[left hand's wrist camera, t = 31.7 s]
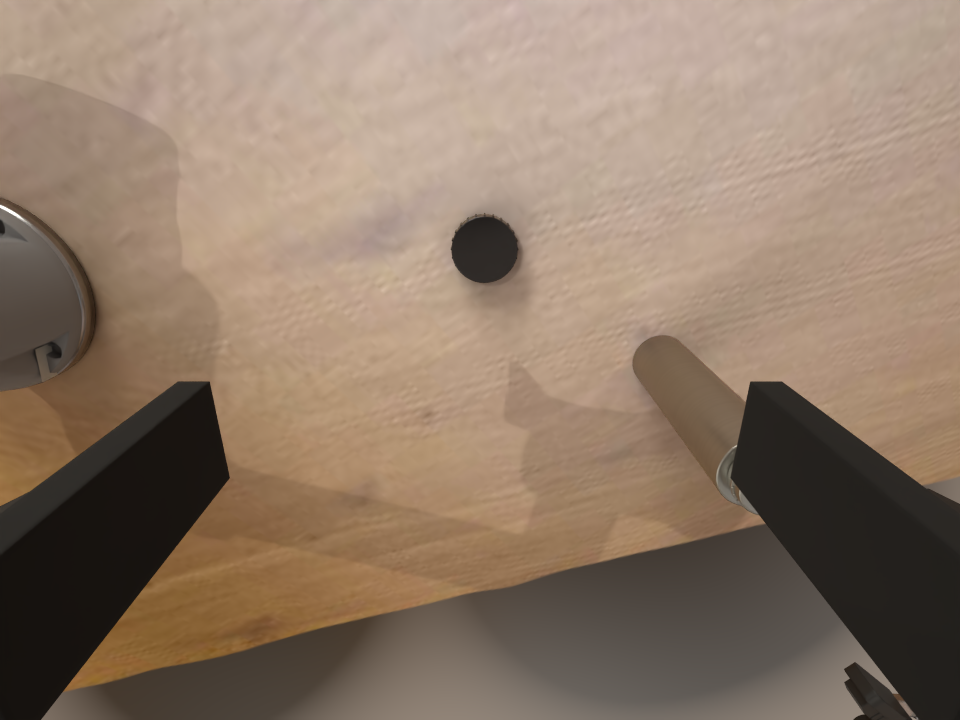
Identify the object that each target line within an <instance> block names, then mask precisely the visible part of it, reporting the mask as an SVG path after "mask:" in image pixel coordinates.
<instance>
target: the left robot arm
mask: <svg viewBox="0 0 960 720" xmlns="http://www.w3.org/2000/svg"><path fill="white" fill-rule="evenodd" d="M94 327H95V305H94V299H93V295H92V291H91V288H90V285H89V282H88V280H87V277H86V275H85V273H84V271H83V269H82V267H81V265H80V264H79V262H78V260H77V259H76V257H75V256H74V254H73V253H72V251H71V250H70V249H69V248H68V246H67V245H66V244H65V243H64V241H63V240H62V239H61V238H60V237H59V236H58V235H57V234H56V233H55V232H54V231H53V230H52V229H51V228H50V227H49V226H47V225H46V224H45V223H44V222H42V221H41V220H40V219H39V218H37V217H36V216H34V215H33V214H31V213H30V212H28V211H27V210H25V209H23V208H22V207H20V206H18V205H16V204H14V203H12V202H10V201H8V200H5V199H3V198H0V391H6V390H14V389H20V388H25V387H29V386H32V385H35V384H39V383H43V382H45V381H47V380H49V379H51V378H53V377H55V376H57V375H59V374H61V373H62V372H64V371H66V370H68V369H69V368H71V367H72V366H73V365H74V364H76V363H77V362H78V361H79V360H80V358H81V357H82V356H83V355H84V353H85V352H86V350H87V348H88V347H89V344H90V342H91V339H92V336H93V333H94ZM229 478H230V477H229V472H228V467H227V462H226V458H225V453H224V448H223V443H222V438H221V434H220V429H219V424H218V419H217V415H216V410H215V405H214V400H213V395H212V391H211V386H210V382H177V383H176V384H174V385H173V386H171V387H170V388H169V389H167V390H166V391H165V392H163V393H162V394H161V395H159V396H158V397H157V398H155V399H154V400H153V401H151V402H150V403H149V404H147V405H146V406H145V407H143V408H142V409H140V410H139V411H138V412H136V413H135V414H134V415H132V416H131V417H130V418H128V419H127V420H126V421H124V422H123V423H122V424H120V425H119V426H118V427H116V428H115V429H114V430H112V431H111V432H110V433H108V434H107V435H105V436H104V437H103V438H101V439H100V440H99V441H97V442H96V443H95V444H93V445H92V446H91V447H89V448H88V449H87V450H85V451H84V452H83V453H81V454H80V455H79V456H77V457H76V458H75V459H73V460H72V461H70V462H69V463H68V464H66V465H65V466H64V467H62V468H61V469H60V470H58V471H57V472H56V473H54V474H53V475H52V476H50V477H49V478H48V479H46V480H45V481H44V482H42V483H41V484H39V485H38V486H37V487H35V488H34V489H33V490H31V491H30V492H28V493H26V494H24V495H22V496H20V497H18V498H16V499H14V500H12V501H10V502H8V503H6V504H4V505H2V506H0V720H41V719H42V718H43V716H44V715H45V714H46V713H47V711H48V710H49V709H50V707H51V706H52V705H53V704H54V702H55V701H56V700H57V698H58V697H59V696H60V695H61V693H62V692H63V691H64V689H65V688H66V687H67V686H68V684H69V683H70V682H71V681H72V679H73V678H74V677H75V675H76V674H77V673H78V672H79V670H80V669H81V668H82V666H83V665H84V664H85V663H86V661H87V660H88V659H89V657H90V656H91V655H92V654H93V652H94V651H95V650H96V648H97V647H98V646H99V645H100V643H101V642H102V641H103V640H104V638H105V637H106V636H107V634H108V633H109V632H110V631H111V629H112V628H113V627H114V625H115V624H116V623H117V622H118V620H119V619H120V618H121V616H122V615H123V614H124V613H125V611H126V610H127V609H128V608H129V606H130V605H131V604H132V602H133V601H134V600H135V599H136V597H137V596H138V595H139V593H140V592H141V591H142V590H143V588H144V587H145V586H146V584H147V583H148V582H149V581H150V579H151V578H152V577H153V576H154V574H155V573H156V572H157V570H158V569H159V568H160V567H161V565H162V564H163V563H164V561H165V560H166V559H167V558H168V556H169V555H170V554H171V552H172V551H173V550H174V549H175V547H176V546H177V545H178V543H179V542H180V541H181V540H182V538H183V537H184V536H185V535H186V533H187V532H188V531H189V529H190V528H191V527H192V526H193V524H194V523H195V522H196V520H197V519H198V518H199V517H200V515H201V514H202V513H203V511H204V510H205V509H206V508H207V506H208V505H209V504H210V503H211V501H212V500H213V499H214V497H215V496H216V495H217V494H218V492H219V491H220V490H221V488H222V487H223V486H224V485H225V483H226V482H227V481H228V479H229ZM730 478H731V479H732V481H733V482H734V483H735V485H736V486H737V487H738V488H739V490H740V491H741V492H742V494H743V495H744V496H745V497H746V499H747V500H748V501H749V503H750V504H751V505H752V506H753V508H754V509H755V510H756V511H757V513H758V514H759V515H760V517H761V518H762V519H763V520H764V522H765V523H766V524H767V526H768V527H769V528H770V529H771V531H772V532H773V533H774V535H775V536H776V537H777V538H778V540H779V541H780V542H781V543H782V545H783V546H784V547H785V549H786V550H787V551H788V552H789V554H790V555H791V556H792V558H793V559H794V560H795V561H796V563H797V564H798V565H799V567H800V568H801V569H802V570H803V572H804V573H805V574H806V575H807V577H808V578H809V579H810V581H811V582H812V583H813V584H814V586H815V587H816V588H817V590H818V591H819V592H820V593H821V595H822V596H823V597H824V599H825V600H826V601H827V602H828V604H829V605H830V606H831V608H832V609H833V610H834V611H835V613H836V614H837V615H838V616H839V618H840V619H841V620H842V622H843V623H844V624H845V625H846V627H847V628H848V629H849V631H850V632H851V633H852V634H853V636H854V637H855V638H856V640H857V641H858V642H859V643H860V645H861V646H862V647H863V648H864V650H865V651H866V652H867V654H868V655H869V656H870V657H871V659H872V660H873V661H874V663H875V664H876V665H877V666H878V668H879V669H880V670H881V671H882V673H883V674H884V675H885V677H886V678H887V679H888V680H889V682H890V683H891V684H892V686H893V687H894V688H895V689H896V691H897V692H898V693H899V695H900V696H901V697H902V698H903V700H904V701H905V702H906V704H907V705H908V706H909V707H910V709H911V710H912V711H913V713H914V714H915V715H916V716H917V718H918V719H919V720H960V504H959V503H957V502H955V501H953V500H951V499H948V498H946V497H944V496H942V495H940V494H938V493H936V492H934V491H932V490H930V489H926V488H924V487H923V486H922V485H921V484H919V483H918V482H916V481H915V480H914V479H912V478H911V477H910V476H908V475H907V474H906V473H904V472H903V471H902V470H900V469H899V468H898V467H896V466H895V465H894V464H892V463H891V462H890V461H888V460H887V459H885V458H884V457H883V456H881V455H880V454H879V453H877V452H876V451H875V450H873V449H872V448H871V447H869V446H868V445H867V444H865V443H864V442H863V441H861V440H860V439H859V438H857V437H856V436H855V435H853V434H852V433H850V432H849V431H848V430H846V429H845V428H844V427H842V426H841V425H840V424H838V423H837V422H836V421H834V420H833V419H832V418H830V417H829V416H828V415H826V414H825V413H824V412H822V411H821V410H819V409H818V408H817V407H815V406H814V405H813V404H811V403H810V402H809V401H807V400H806V399H805V398H803V397H802V396H801V395H799V394H798V393H797V392H795V391H794V390H793V389H791V388H790V387H789V386H787V385H786V384H784V383H783V382H750V386H749V391H748V395H747V400H746V405H745V410H744V415H743V419H742V424H741V429H740V434H739V438H738V443H737V448H736V453H735V458H734V462H733V467H732V472H731V477H730Z"/></svg>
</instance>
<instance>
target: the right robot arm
mask: <svg viewBox="0 0 960 720" xmlns="http://www.w3.org/2000/svg"><path fill="white" fill-rule="evenodd" d="M844 670H845V672H846V673H847V675H848V676H849V678H850V679H849V680H847V681H846V682H845V685H846V688H847V690H848V691H849V693H850V694H851V695H852V697H853V698H854V700H855V701H856V703H857V704H858V706H859V707H860V708H861V710H862V711H863V713H864V715H860V716H858V717H856V718H855V719H854V720H912V719H911V717H914V718H915V719H917V720H919V719H918V718H917V716H916V715H915V714H914V713H913V711H912V710H911V709H910V707H909V706H908V705H907V704H906V702H905V701H904V700H903V698H902V697H901V696H900V695H899V694H892V693H891V691H890V690H889V689H888V688H887V687H885V686H884V685H883V684H882V683H880V682H879V681H878V680H877V679H875V678H874V677H873V676H872V675H870V674H869V673H868V672H867V671H866V670H864V669H863V668H862V667H861V666H859V665H858V664H857V663H855V662H854V663H853V664H851V665H850V666H848V667H847V668H845V669H844Z"/></svg>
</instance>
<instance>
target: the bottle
mask: <svg viewBox="0 0 960 720" xmlns="http://www.w3.org/2000/svg"><path fill="white" fill-rule="evenodd" d="M633 370H634V372H635V374H636V376H637V377H638V379H639V380H640V382H641V383H642V384H643V386H644V387H645V388H646V390H647V391H648V393H649V394H650V395H651V397H652V398H653V400H654V401H655V402H656V404H657V405H658V407H659V408H660V409H661V411H662V412H663V414H664V415H665V416H666V418H667V419H668V421H669V422H670V423H671V425H672V426H673V428H674V429H675V430H676V432H677V433H678V435H679V436H680V437H681V439H682V440H683V442H684V443H685V444H686V446H687V447H688V449H689V450H690V451H691V453H692V454H693V455H694V457H695V458H696V460H697V461H698V462H699V464H700V465H701V467H702V468H703V469H704V471H705V472H706V474H707V475H708V476H709V478H710V479H711V481H712V482H713V483H714V485H715V486H716V488H717V489H718V490H719V492H720V493H721V495H722V496H723V497H724V498H726V499H727V500H728V501H730V502H732V503H734V504H737V505H740V506H742V507H744V508H745V509H746V510H748V511H749V512H751V513H754V514H756V515H759V514H758V513H757V511H756V510H755V509H754V508H753V506H752V505H751V504H750V503H749V501H748V500H747V499H746V497H745V496H744V495H743V494H742V492H741V491H740V490H739V488H738V487H737V486H736V485H735V483H734V482H733V481H732V479H731V478H730V477H731V472H732V467H733V462H734V458H735V453H736V448H737V443H738V438H739V434H740V429H741V424H742V419H743V415H744V410H745V405H746V402H745V401H744V400H743V399H742V398H741V397H740V396H738V395H737V394H736V393H735V392H734V391H733V390H732V389H731V388H730V387H729V386H728V385H727V384H725V383H724V382H723V381H722V380H721V379H720V378H719V377H718V376H717V375H716V374H715V373H713V372H712V371H711V370H710V369H709V368H708V367H707V366H706V365H705V364H704V363H703V362H702V361H700V360H699V359H698V358H697V357H696V356H695V355H694V354H693V353H692V352H691V351H690V350H689V349H687V348H686V347H685V346H684V345H683V344H682V343H681V342H680V341H679V340H677V339H675V338H673V337H670V336H656V337H653V338H650V339H648V340H646V341H645V342H644V343H642V344H641V345H640V346H639V348H638V349H637V351H636V352H635V355H634V358H633Z"/></svg>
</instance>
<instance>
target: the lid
mask: <svg viewBox="0 0 960 720" xmlns="http://www.w3.org/2000/svg"><path fill="white" fill-rule="evenodd" d="M452 241H453V242H452V247H451V250H452V259H453V261H454V263H455V266H456V267H457V269H458V270H459V271H460V273H462V274H463V275H464V276H465V277H467V278H468V279H470V280H472V281H475V282H480V283H489V282H494V281H497V280H499V279H501V278H502V277H504V276H505V275H506V274H507V273H508V272H509V271H510V270H511V269H512V267H513V265H514V263H515V261H516V259H517V250H518V247H517V239H516V238H515V236H514V231H513V230H511V228H510V227H509V224H508V223H506V222H505V221H503V220H502V218H498V217H496V216H494V214H493V215H489V214H485V213H484V214H480V215H477V214H475V216H472V217H470V218H469V217H468V218H467V220H466V221H464V222H463V223H461V224H460V226H459V228H458V229H457V230H456V231H455V236H454V238H452Z"/></svg>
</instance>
